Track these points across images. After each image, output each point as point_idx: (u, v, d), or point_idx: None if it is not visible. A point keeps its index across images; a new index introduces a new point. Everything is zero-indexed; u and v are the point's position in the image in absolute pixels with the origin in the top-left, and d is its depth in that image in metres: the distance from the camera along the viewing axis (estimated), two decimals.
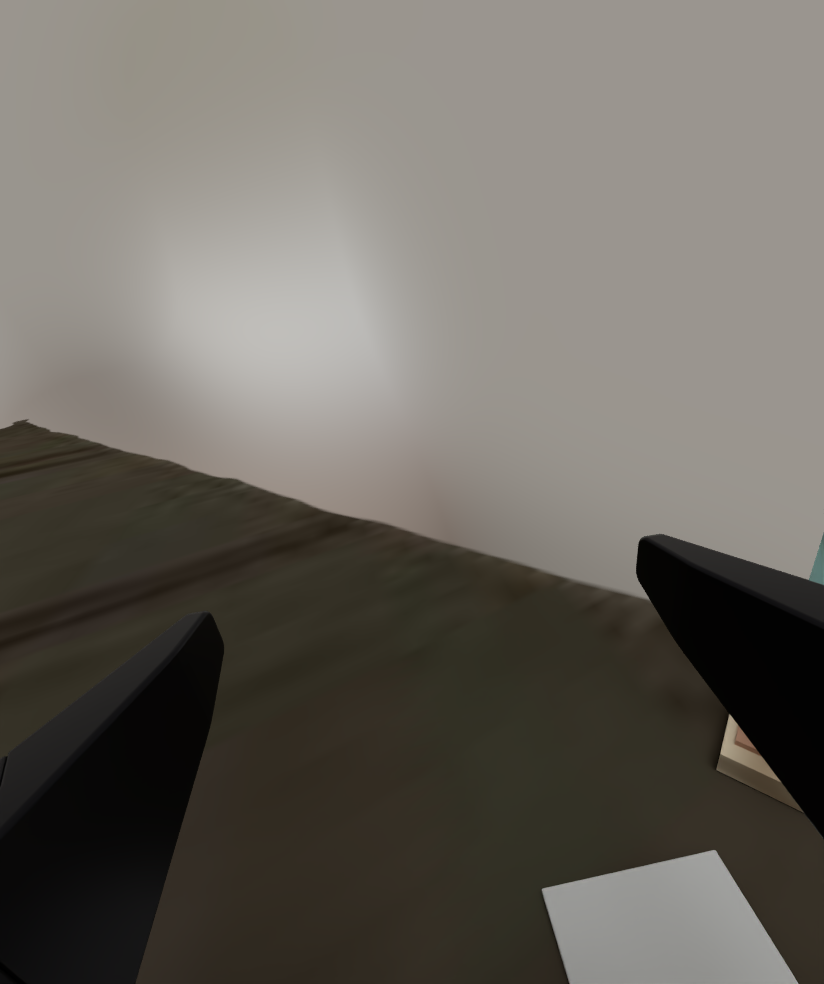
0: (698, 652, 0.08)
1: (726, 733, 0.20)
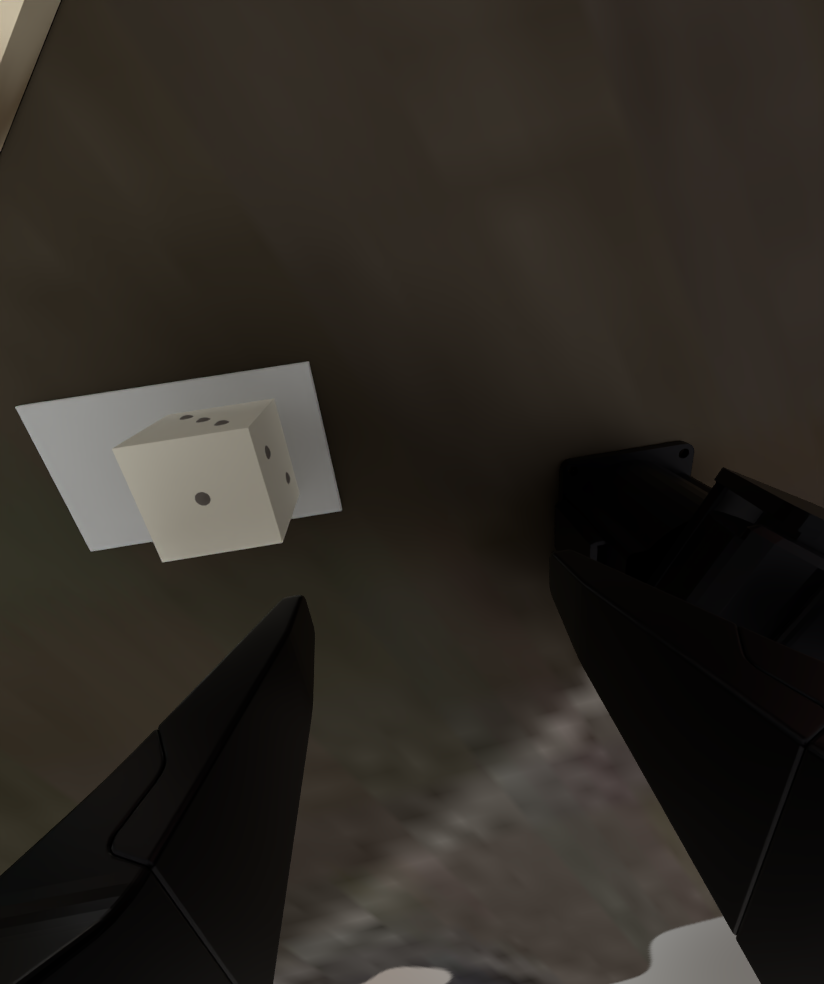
0: (594, 671, 0.08)
1: None
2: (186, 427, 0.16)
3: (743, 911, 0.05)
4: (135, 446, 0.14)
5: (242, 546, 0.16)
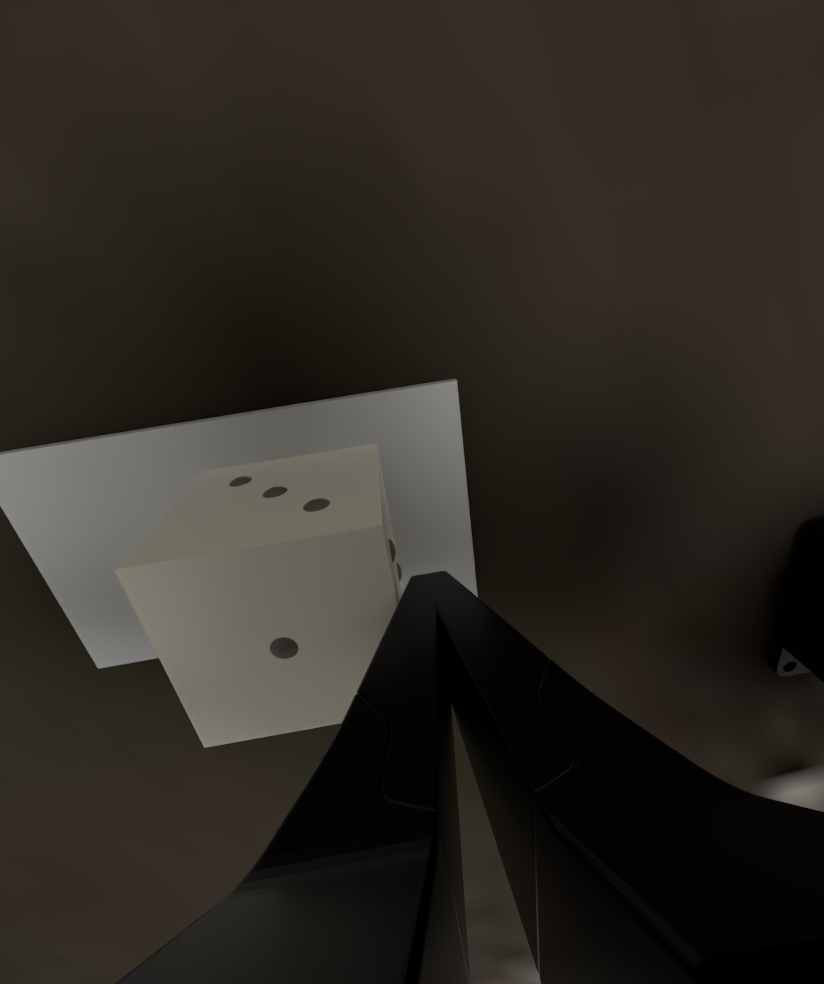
0: (451, 696, 0.08)
1: None
2: (250, 511, 0.09)
3: (538, 952, 0.05)
4: (161, 564, 0.07)
5: None
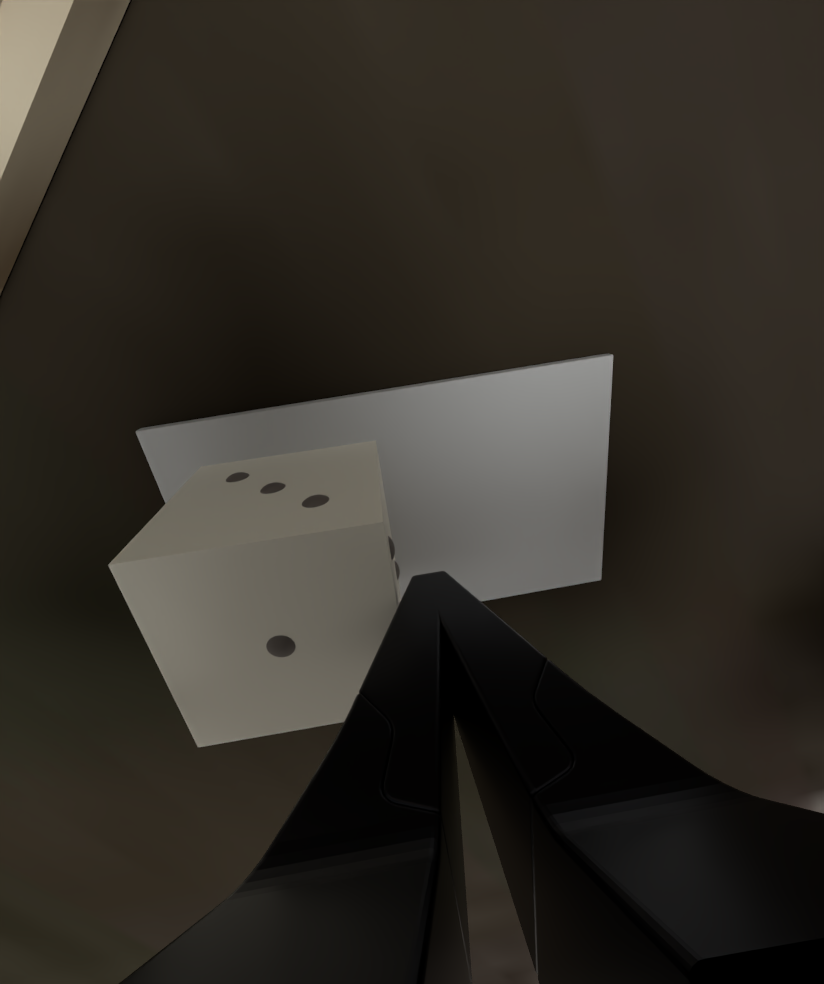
0: (450, 697, 0.08)
1: None
2: (248, 507, 0.08)
3: (535, 951, 0.05)
4: (156, 559, 0.07)
5: (343, 717, 0.09)
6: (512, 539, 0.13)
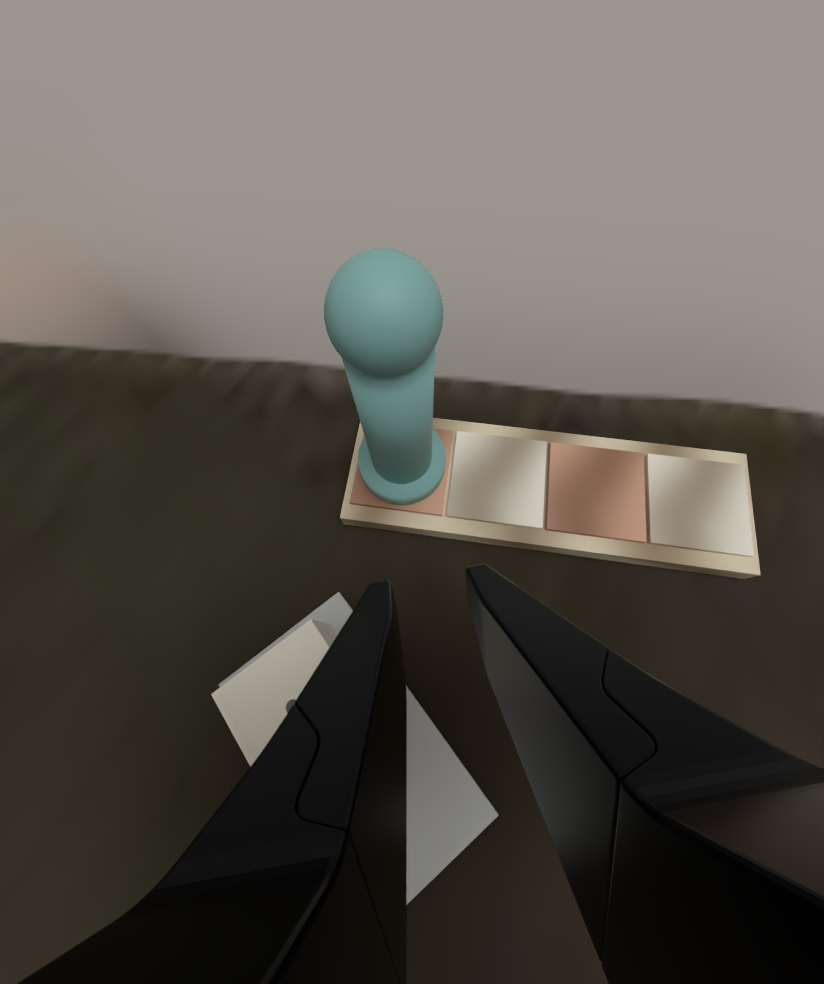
0: (496, 688, 0.08)
1: (345, 496, 0.23)
2: None
3: (603, 939, 0.05)
4: (320, 635, 0.17)
5: None
6: None
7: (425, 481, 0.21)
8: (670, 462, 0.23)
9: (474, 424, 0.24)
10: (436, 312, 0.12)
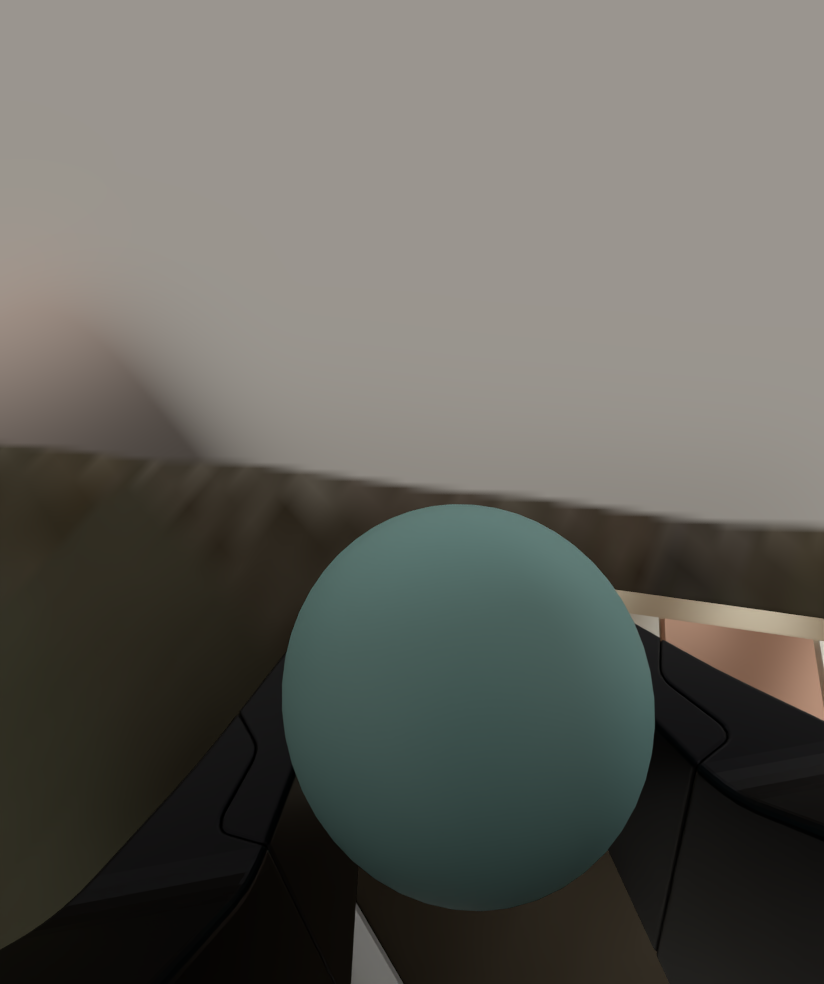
0: None
1: None
2: None
3: (660, 927, 0.05)
4: None
5: None
6: None
7: None
8: None
9: None
10: (652, 745, 0.04)
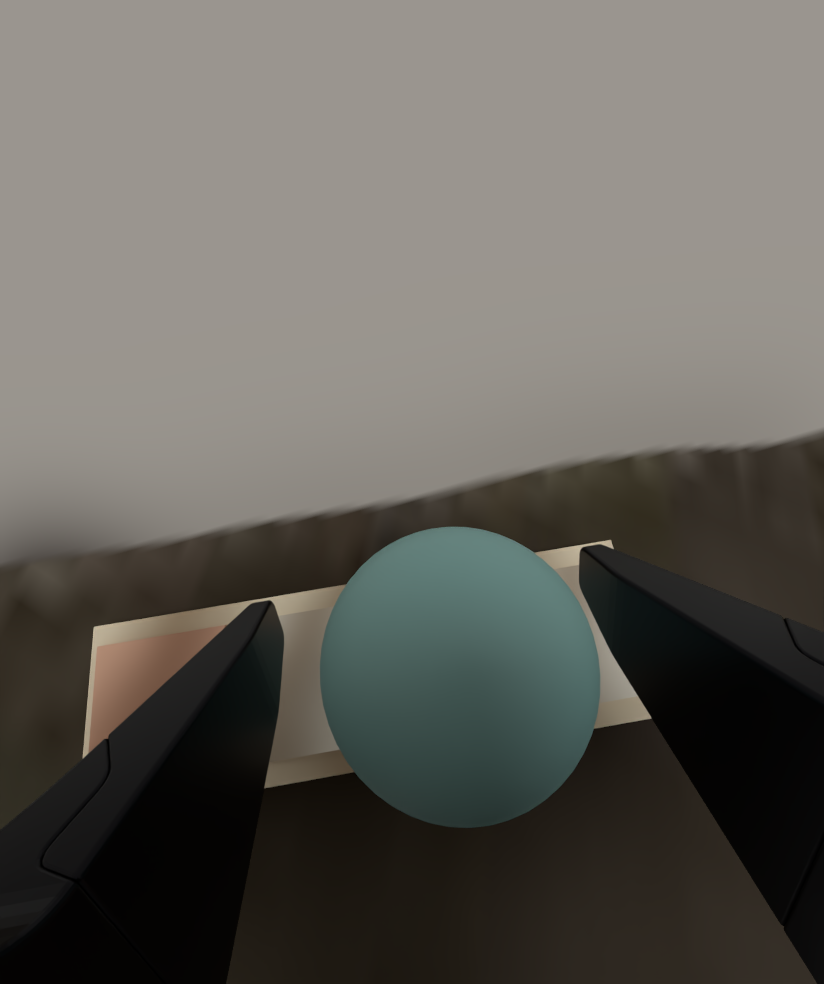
0: (629, 664, 0.08)
1: None
2: None
3: (792, 901, 0.05)
4: None
5: None
6: None
7: None
8: None
9: None
10: None
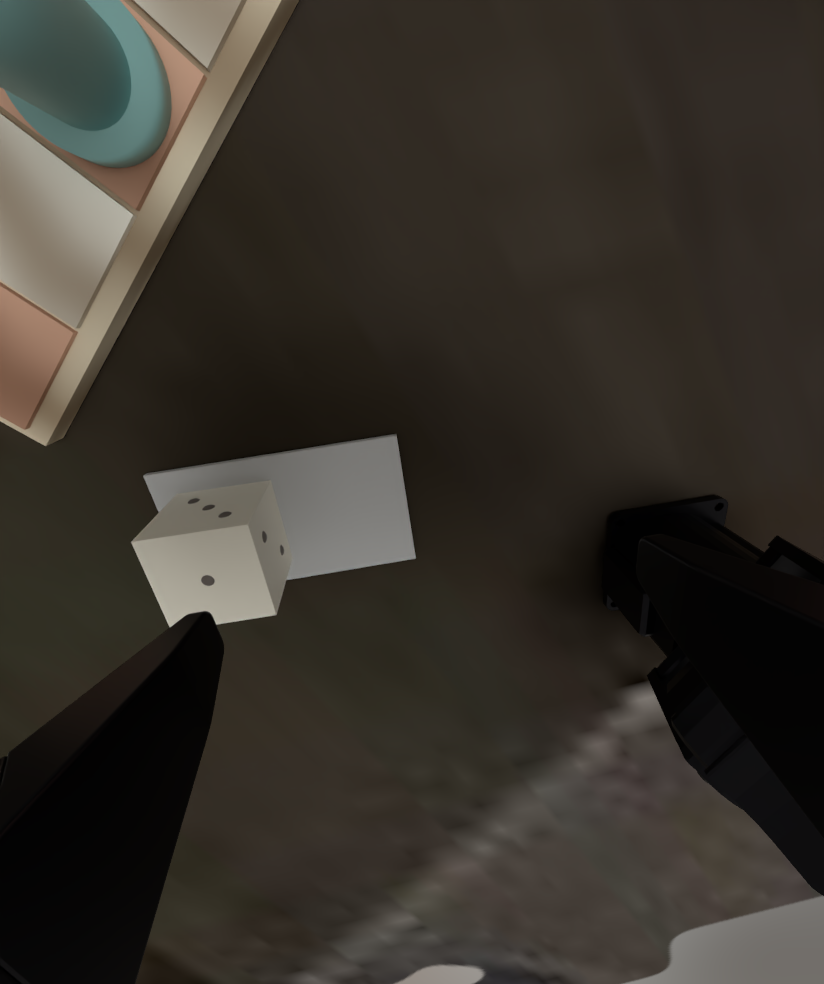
0: (698, 652, 0.08)
1: (16, 429, 0.18)
2: (194, 517, 0.18)
3: None
4: (151, 539, 0.17)
5: (241, 618, 0.19)
6: (357, 534, 0.23)
7: (141, 76, 0.13)
8: None
9: None
10: None
